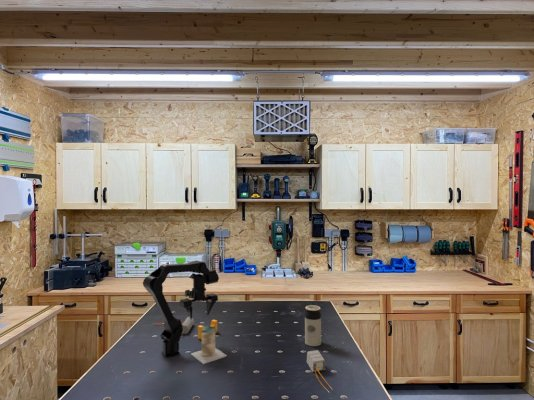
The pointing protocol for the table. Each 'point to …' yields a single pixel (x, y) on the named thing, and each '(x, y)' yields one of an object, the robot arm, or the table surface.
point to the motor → (185, 325)
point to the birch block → (208, 341)
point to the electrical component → (316, 363)
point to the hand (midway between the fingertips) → (199, 317)
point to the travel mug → (313, 325)
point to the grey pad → (204, 360)
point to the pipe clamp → (213, 324)
